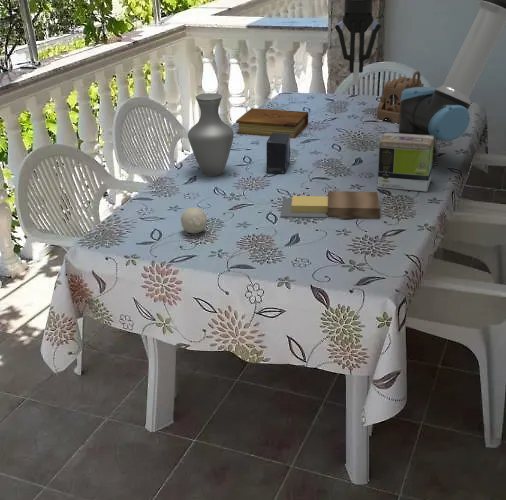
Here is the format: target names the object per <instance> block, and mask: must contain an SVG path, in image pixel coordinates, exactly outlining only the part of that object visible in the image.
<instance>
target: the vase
mask: <svg viewBox="0 0 506 500" xmlns="http://www.w3.org/2000/svg"><path fill="white" fill-rule="evenodd" d="M222 98H223V94H221V93H214V92H211V93H210V92H208V93H207V92H206V93H200V94H197V95H196V96H195V100H196V102H197V104H198V107H199V109H200V115H199V116H200V117H199V120H198V121H197V122H196V124H194V125H192V127H191V128H189V130H188V132H187V138H188V142H189V145H190V148H191V150H192V153H193V156H194V158H195V160H196V163H197V165H198V167H199V168H200V171H201V172H202V175H204V176H206V177H218V176H221V175H222V174H223V173H224V171H225V168H226V166H227V163H228V160H229V157H230V152H231V150H232V146H233V141H234V137H235V136H234V135H235V133H234V130H233V128H232V127H231V126H230V125H228V124H227V123H225V122H224V121H223V120H222V118H221V116H220V112H219V108H220V105H221V101H222Z"/></svg>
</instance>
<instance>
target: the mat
mask: <svg viewBox="0 0 506 500" xmlns="http://www.w3.org/2000/svg"><path fill="white" fill-rule="evenodd" d="M288 217H307V218H306V219H327V213H313V212H292V197H290V198H286V197H285V198H284V197H282V203H281V210H280V218H283V219H285V218H288Z"/></svg>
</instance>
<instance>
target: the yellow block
mask: <svg viewBox="0 0 506 500" xmlns="http://www.w3.org/2000/svg"><path fill="white" fill-rule="evenodd" d="M291 198H292V212H313V213H326V214H328V195H326V196H323V195H322V196H320V195H317V196H315V195H312V196H311V195H310V196H309V195H292V197H291Z"/></svg>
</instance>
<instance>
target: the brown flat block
mask: <svg viewBox="0 0 506 500" xmlns="http://www.w3.org/2000/svg"><path fill="white" fill-rule="evenodd" d="M327 196H328V213H327V218H328V217H336V218H335V219H338V218H339V219H374V220H375V219H380V217H381V216H380V215H381V204H380V200H379V193H378V191H349V190H348V191H341V190H339V191H337V190H335V191H334V190H333V191H331V190H328V191H327Z"/></svg>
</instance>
